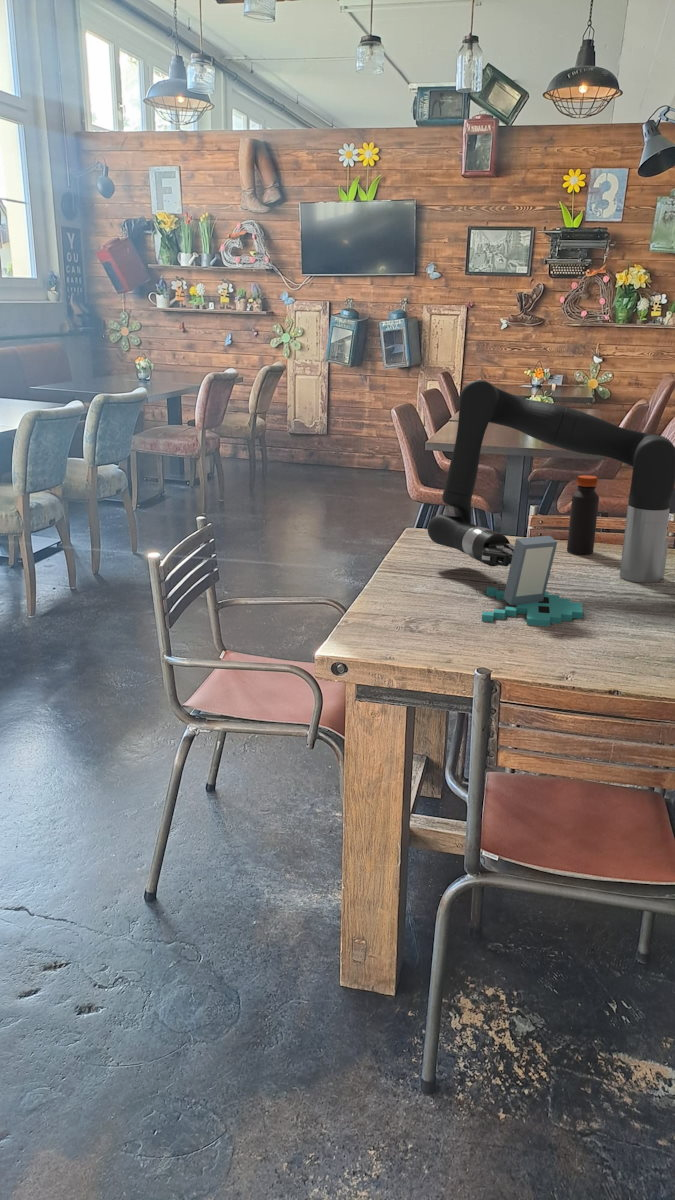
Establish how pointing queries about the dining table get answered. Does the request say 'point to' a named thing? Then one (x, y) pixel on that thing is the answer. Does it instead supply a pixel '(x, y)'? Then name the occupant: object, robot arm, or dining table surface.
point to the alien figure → (537, 609)
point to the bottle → (583, 516)
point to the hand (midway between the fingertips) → (529, 564)
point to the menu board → (530, 569)
